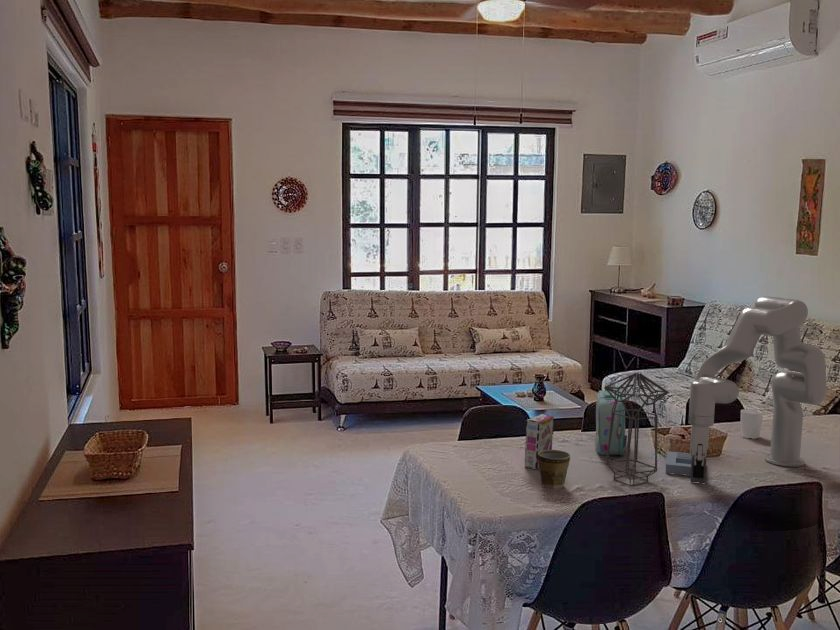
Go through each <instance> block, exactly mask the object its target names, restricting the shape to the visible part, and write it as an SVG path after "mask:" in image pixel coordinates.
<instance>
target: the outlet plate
mask: <svg viewBox="0 0 840 630" xmlns="http://www.w3.org/2000/svg"><path fill="white" fill-rule="evenodd" d="M691 457H692V456H691V455H690V452H689V453H688V452H680V451H678V452H677V451H666V458H665V471H664V472H665V474H669V473H674V474H673V475H678V474H686V475H685V476H687V475H690V474H691Z"/></svg>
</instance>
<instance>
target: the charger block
mask: <svg viewBox="0 0 840 630" xmlns="http://www.w3.org/2000/svg"><path fill="white" fill-rule="evenodd" d="M696 456H698V455H696ZM696 459H697V458H696ZM694 460H695V455H692V457H691V474H690V476H689V480H690V481H691V482H699V483H705V484H706V472H707V456H706V457H704V464H703V466H704V476H703V478H694V477H693V465H694ZM690 481H689V482H690Z"/></svg>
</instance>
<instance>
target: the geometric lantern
mask: <svg viewBox="0 0 840 630" xmlns="http://www.w3.org/2000/svg"><path fill="white" fill-rule="evenodd" d="M623 381H624V382H623ZM632 381H633V383H632ZM620 382H623V383H622V384H620V386H618V387H616V386H613V385H615V384H618V383H620ZM652 385H653V386H652ZM637 387H638V394H637V395H636V388H637ZM654 387H655V388H657V389H655V388H654ZM628 388H629V389H628ZM603 389H604V390H605V391H607V392H608V393H609V394H610V395H611V396H612V397H613V399H614V400H615V402H616V403H615V402H614V405H615V407H614V405H613V408H614V411H613V408H612V411H613V412H612V411H611V412H612V414H611V423H610V433H609V442H608V452H607V455H606V461H605V465H606V467H608V468H609V470H611V472H612V473H613V481H616V482H619V483H622V484H624V485H626V486H629V487H634V486H638V485H643V484H647V483H649V477H650V476H652V475H653V474H655V473H657V471H658V425H659V424H658V423H659V421H658V418H659V415H658V414H657V407H656V403H657V402H658V401H659V400H661V399H663V398H664V397H665V396H666V395H668V394H670V391H668V390H667V389H665V388H664V387H662V386H660V385H659V384H658V383H656V382H655V381H653V380H651V379H650V378H648V377H647V376H645V375H644V374H643V373H641V372H640V373H639V372H633V373H632V374H630V375H628V376H626V377H624V378H621V379H618V380H616V381H614V382H611V383H609V384H607V385H605V386H604V387H603ZM621 389H622V390H621ZM627 389H628V390H627ZM658 389H659V390H658ZM619 390H621V392H620V391H619ZM610 391H611V392H612V393H614V395H615V397H614V396H613V395H612V394H611V392H610ZM631 391H632V393H629V392H631ZM646 391H648V392H649V394H647V392H646ZM641 392H642V393H641ZM617 393H618V394H617ZM619 393H620V395H619ZM616 395H617V399H616ZM619 397H620V400H618V398H619ZM621 397H622V398H624V399H623V400H622V398H621ZM632 397H637V398H639V399H640V400H641V401H642V405H641V406H640V407H639V409H634V408H633V406H632V405H631V403H630V402H629V399H630V398H632ZM644 397H645V398H646V399H645V400H644V399H643V398H644ZM649 400H651V401H652V402H649ZM626 401H627V403H628V405H629V406H630V408H631V409H627V407H626V404H625V402H626ZM617 402H622V403H623V405H624V409H625V410H619V411H615V409H616V405H617ZM651 405H652V407H653V413H651V412H647V411H644V410H642V409H643V408H644V406H647V407H648V406H651ZM621 411H625V412H626V413H627V415H628V416H626V415H625V416H624V415H620V414H617V413H615V412H621ZM630 411H631V415H630ZM635 412H637V413H636V414H635ZM640 412H641V413H644V414H648V415H651V416H647V417H640ZM615 414H617V415H620V416H623V417H625V419H626V418H627V419H629V420H628V427H627V428H628V429H627V430H628V431H627V444H626V456H625V459H622V460H621V459H619V460H613V461H609V456H610V455H609V450H610V443H611V436H612V429H613V422H614V415H615ZM645 419H646V420H647V419H654V465H651V464H649V463H646V462H642V461H640V460H638V455H639V454H638V453H639V452H638V451H639V429H640V420H645ZM633 424H634V425H633ZM633 426H634V442H633V443H634V444H633V445H634V447H633V449H634V450H633V452H634V456H633V458H634V459H631V458H630V452H631V443H632V433H633ZM622 462H625V468H624V469H620V468H618V467H615V466H613V465H610V464H615V463H622ZM630 462H633V465H632V467H631V469H630ZM637 463H638V464H641V465H645V466H646V467H649V468H653V469H651V470H643V471H641V470H640V471H638V470H637ZM615 470H616V471H615ZM620 473H624V475H623V474H620ZM637 474H641V475H644V476H637ZM616 475H618V476H616ZM631 477H632V478H631ZM618 478H619V479H620V478H625V479H628V480H629V483H627V482H624V481H622V480H618ZM645 478H646V479H645ZM638 479H640V480H642V481H643V482H639V483H635V480H638Z"/></svg>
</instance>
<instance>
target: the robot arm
mask: <svg viewBox="0 0 840 630" xmlns="http://www.w3.org/2000/svg"><path fill="white" fill-rule="evenodd" d="M754 302H755V303H754V306H753V307H752V306H751V307H746V308H744V309H743V310H742V311H740V313H739V316H738V317H737V319H736V321H735V324H734V325H733V328H732V330H731V331H730V334H729V336H728V338H727V340H726V342H725V345H723V346H722V347H721V348H719V349H717V350H716V351H715V352H714V353H712V354H711V355H710V356H708V357H707V358H706V359H705V360H704V362H702V364H701V366H700V367H699V370H698V371H697V374H696V376H695V378H694V380H693V381H692V382H691V384H690V392H689V407H688V408H689V410H688V424H689V425H691V427H690V429H691V430H690V442H689V443H690V445H689V453H690V455H691V456H692V455H695V460H694V465H693V477H694V478H703V476H704V466H703V464H704V457H706V458H707V452H708V447H709V436H710V427H711V428H712V427H714V423H715V409H716V408H715V405H716V404H730V403H733V402H734V401H736V400H737V399H738V397H739V393H740V389H739V386H738V385H737V383H735V382H734V381H732V380H729V379H725V378H721V377H717V376H716V375H717V374H718V373H719V372H720V371H721V369H723V368H725V367H726V366H729V365H731V364H735V363H738V362H741V361H745V360H748V359H750V358H751V356H752V354H753V353H754V350H755V348H756V345H757V343H758V342H759V339H760V337H761V336H768V337H769V336H770V337H773V341H772V342H773V352H774V362H775V364H776V366H777V367H779V368H780V369H783V371H779V372H777V373H776V374H775V375H774V376H773V377H772V380H771V392H772V398H773V399H772V401H773V404H772V405H773V406H772V407H773V408H772V409H773V410H772V421H771V422H772V424H771V437H770V449H769V453H767V454H765V456H764V460H765V461H766V462H768V463H769V464H773V465H776V466H779V467H780V466H781V467H789V468H792V467H793V468H795V467H798V468H799V467H802V466H804V465H805V463H806V462H805V459H803V458H802V457H801V448H802V436H803V435H802V434H803V424H804V423H803V422H804V411H803V406H802V405H801V404H805V405H810V406H811V405H813V406H816V405H817V406H818V405H819V404H820V405H821V404H822V403H823V402H824V400H825V399H826V395H827V388H828V387H827V372H826V371H827V367H826V358H825V354H824V353H823V351H822V349H821V348H819V347H817V346H815V345H811V344H806V343H805V344H804V343H803V342H802V338H801V330H800V326H801V325H803V324H804V323H805V322H806V320H807V318H808V316H809V315H808V314H809V309H808V306H807V304H806V303H805V302H803V301H802V300H799V299H793V298H785V297H778V296H777V297H776V296H762V297H758V298H757V299H756V300H755V301H754ZM696 455H698V456H696ZM696 458H697V459H696Z"/></svg>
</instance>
